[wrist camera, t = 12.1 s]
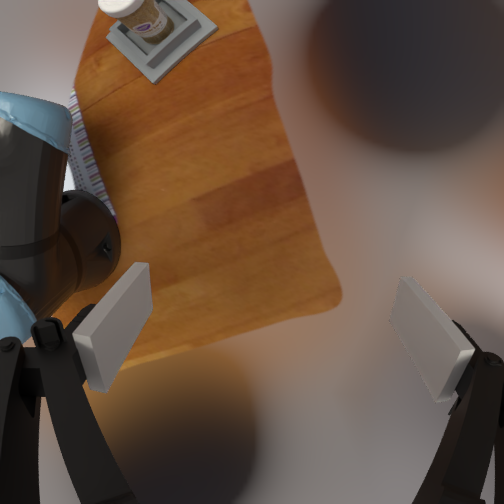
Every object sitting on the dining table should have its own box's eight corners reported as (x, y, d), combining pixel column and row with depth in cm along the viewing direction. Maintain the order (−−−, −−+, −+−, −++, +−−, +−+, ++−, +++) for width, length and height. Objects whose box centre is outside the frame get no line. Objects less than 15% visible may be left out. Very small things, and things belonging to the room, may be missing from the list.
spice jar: (150, 51, 33) (104, 20, 21) (137, 27, 32) (90, -8, 19) (181, 33, 32) (147, -7, 20) (167, 9, 31) (130, -34, 18)
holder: (155, 84, 36) (144, 79, 32) (109, 39, 33) (95, 31, 29) (218, 29, 33) (213, 18, 29) (167, -14, 30) (158, -26, 27)
